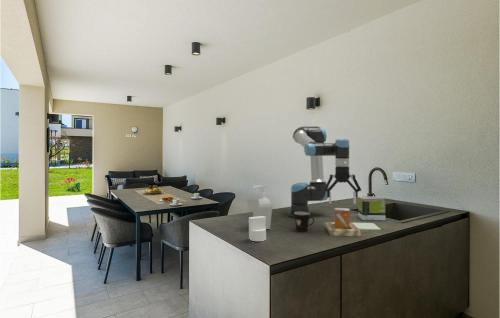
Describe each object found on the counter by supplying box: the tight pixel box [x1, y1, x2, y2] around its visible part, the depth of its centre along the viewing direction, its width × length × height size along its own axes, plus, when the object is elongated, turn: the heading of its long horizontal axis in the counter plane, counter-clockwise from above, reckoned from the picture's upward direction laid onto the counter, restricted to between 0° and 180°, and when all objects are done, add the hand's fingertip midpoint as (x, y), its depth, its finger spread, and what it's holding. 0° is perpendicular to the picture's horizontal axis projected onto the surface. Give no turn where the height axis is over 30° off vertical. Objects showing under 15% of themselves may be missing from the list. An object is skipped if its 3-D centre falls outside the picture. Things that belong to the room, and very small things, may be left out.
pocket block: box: [324, 221, 362, 238], centre depth 163 cm, size 16×18×3 cm
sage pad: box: [352, 222, 381, 231], centre depth 174 cm, size 14×14×1 cm
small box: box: [334, 207, 351, 229], centre depth 163 cm, size 8×6×13 cm
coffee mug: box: [294, 212, 315, 233], centre depth 165 cm, size 12×9×10 cm
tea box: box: [357, 196, 386, 221], centre depth 193 cm, size 15×10×15 cm
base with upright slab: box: [248, 216, 267, 241], centre depth 149 cm, size 9×9×12 cm
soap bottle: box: [251, 185, 273, 230], centre depth 170 cm, size 12×10×26 cm
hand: (342, 203), depth 163 cm, fingers open, 13 cm apart
